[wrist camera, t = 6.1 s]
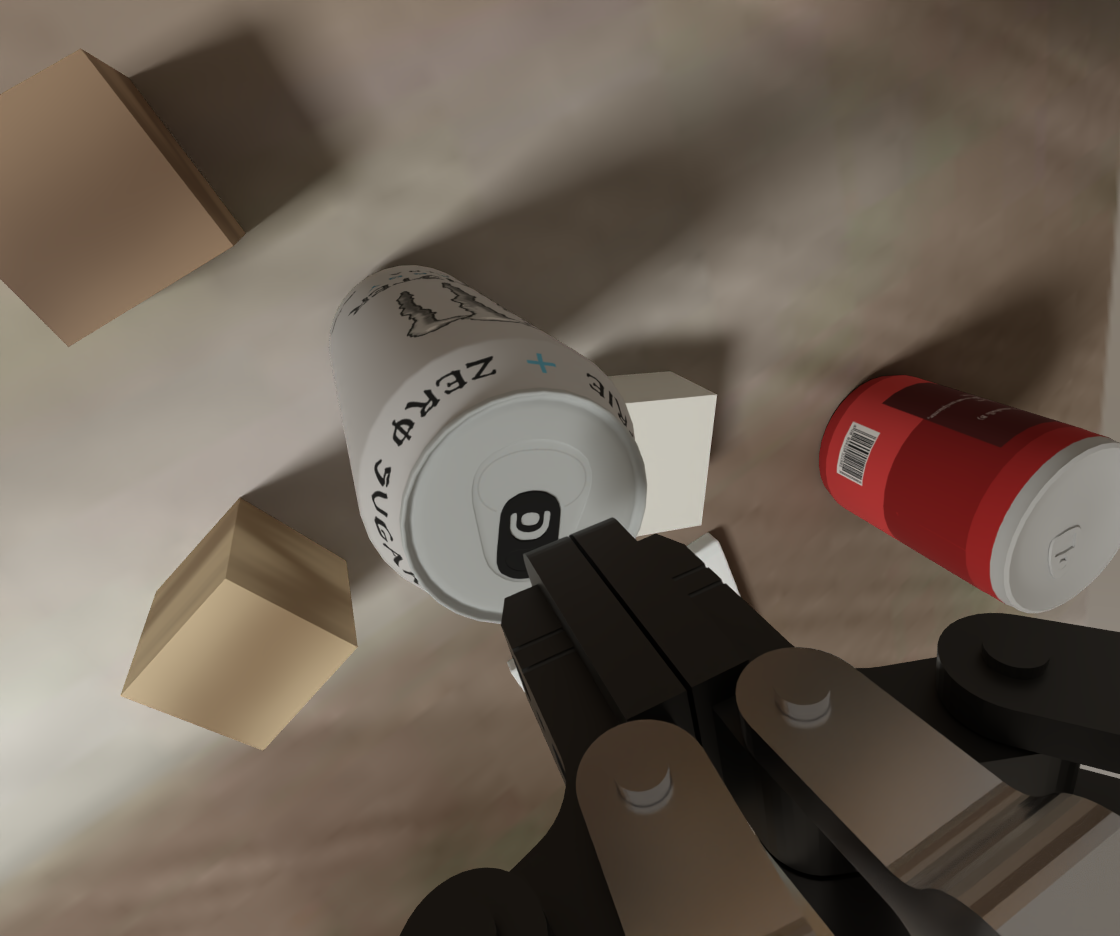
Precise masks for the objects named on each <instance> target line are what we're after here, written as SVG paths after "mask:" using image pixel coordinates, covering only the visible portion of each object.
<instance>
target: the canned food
mask: <svg viewBox="0 0 1120 936" xmlns="http://www.w3.org/2000/svg"><path fill="white" fill-rule="evenodd" d="M819 469H820V475H821V478H822V481H823V483H824V486H825V487H826V489H827V490H828V491H829V493H830V494H831V495H832V496H833V498H834V499H835V500H836V501H837V503H839V504H840V505H841V506H843V507H844V508H845V509H847V510H849V511H850V512H852V513H854V514H855V515H857V516H859V517H860V518H862V519H864V520H865V521H867V522H869V523H870V524H872V525H873V526H875V527H877V528H878V529H880V530H882V531H883V532H885V533H887V534H888V535H890V536H892V537H893V538H895V539H897V540H898V541H900V542H902V543H903V544H905V545H907V546H908V547H910V548H912V549H913V550H915V551H917V552H918V553H920V554H922V555H923V556H925V557H927V558H928V559H930V560H932V561H933V562H935V563H937V564H938V565H940V566H942V567H943V568H945V569H947V570H948V571H950V572H952V573H953V574H955V575H957V576H958V577H960V578H962V579H963V580H965V581H967V582H968V583H970V584H972V585H973V586H975V587H977V588H978V589H980V590H982V591H983V592H985V593H987V594H989V595H991V596H993V597H994V598H996V599H998V600H999V601H1001V602H1003V603H1004V604H1007V605H1010V606H1012V607H1014V608H1016V609H1017V610H1019V611H1023V612H1026V613H1041V612H1045V611H1049V610H1051V609H1054V608H1056V607H1058V606H1060V605H1062V604H1064V603H1065V602H1067V601H1068V600H1070V599H1072V598H1073V597H1075V596H1076V595H1077V594H1078V593H1080V592H1081V591H1082V590H1083V589H1084V588H1086V587H1087V586H1088V585H1089V584H1090V583H1091V582H1092V581H1093V580H1094V579H1095V578H1096V577H1097V576H1098V575H1099V574H1100V573H1101V572H1102V571H1103V569H1104V568H1105V567H1106V566H1107V564H1108V563H1109V562H1110V561H1111V559H1112V558H1113V556H1114V555H1115V554H1116V552H1117V550H1118V549H1119V547H1120V443H1119V442H1116V441H1114V440H1113V439H1111V438H1109V437H1105V436H1102V435H1099V434H1096V433H1093V432H1089V431H1087V430H1084V429H1082V428H1079V427H1075V426H1072V425H1069V424H1066V423H1062V422H1059V421H1056V420H1053V419H1049V418H1046V417H1043V416H1040V415H1036V414H1033V413H1030V412H1027V411H1023V410H1020V409H1017V408H1014V407H1011V406H1007V405H1004V404H1001V403H998V402H994V401H991V400H988V399H985V398H981V397H978V396H975V395H972V394H968V393H965V392H962V391H959V390H955V389H952V388H949V387H946V386H942V385H939V384H936V383H933V382H929V381H926V380H923V379H920V378H917V377H912V376H907V375H895V376H881V377H878V378H875V379H872V380H870V381H868V382H866V383H864V384H862V385H861V386H859V387H858V388H857V389H856V390H854V391H853V392H852V393H850V394H849V396H848V397H847V398H846V399H845V400H844V401H843V402H842V403H841V404H840V406H839V407H838V409H837V410H836V411H835V413H834V414H833V416H832V418H831V420H830V422H829V424H828V426H827V428H826V430H825V433H824V436H823V439H822V442H821V448H820V453H819Z"/></svg>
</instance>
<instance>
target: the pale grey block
mask: <svg viewBox="0 0 1120 936" xmlns="http://www.w3.org/2000/svg"><path fill="white" fill-rule="evenodd" d="M608 377H609V378H610V379H611V380H612V382H613V384H614V385H615V387H616V388H617V390H618V392H619V393H620V395H621V396H622V398H623V400H624V401H625V404H626V406H627V409H628V412H629V415H630V418H631V420H632V423H633V428H634V435H635V442H636V443H637V445H638V448H639V450H640V453H641V456H642V459H643V461H644V464H645V472H646V479H647V496H646V508H645V512H644V516H643V520H642V524H641V527H640V530H639V532H638V534H637V536H641V535H647V534H653V533H658V532H664V531H670V530H676V529H682V528H687V527H693V526H699V525H701V523H702V515H703V507H704V498H705V490H706V482H707V473H708V465H709V457H710V449H711V440H712V432H713V424H714V416H715V407H716V399H717V394H715V393H713V392H711V391H709V390H707V389H705V388H703V387H701V386H699V385H697V384H695V383H693V382H691V381H689V380H687V379H685V378H683V377H681V376H679V375H677V374H675V373H673V372H671V371H666V372H654V373H641V374H629V375H617V376H608Z"/></svg>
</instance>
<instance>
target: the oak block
mask: <svg viewBox="0 0 1120 936" xmlns="http://www.w3.org/2000/svg"><path fill="white" fill-rule="evenodd" d="M357 647H358V646H357V639H356V631H355V624H354V616H353V609H352V601H351V593H350V586H349V578H348V571H347V563H346V561H345V560H344V559H342V558H340V557H339V556H337V555H335V554H334V553H332V552H330V551H329V550H327V549H325V548H324V547H322V546H320V545H319V544H317V543H315V542H314V541H312V540H310V539H309V538H307V537H305V536H304V535H302V534H300V533H299V532H297V531H295V530H294V529H292V528H290V527H288V526H287V525H285V524H283V523H282V522H280V521H278V520H277V519H275V518H273V517H272V516H270V515H268V514H267V513H265V512H263V511H262V510H260V509H258V508H257V507H255V506H253V505H252V504H250V503H248V502H247V501H245V500H243V499H242V498H239V499H238V500H237V501H236V502H235V504H234V505H233V506H232V507H231V508H230V509H229V510H228V511H227V513H226V514H225V515H224V516H223V517H222V518H221V519H220V520H219V522H218V523H217V524H216V525H215V526H214V527H213V528H212V529H211V531H210V532H209V533H208V534H207V535H206V536H205V537H204V538H203V540H202V541H201V542H200V543H199V544H198V545H197V546H196V547H195V549H194V550H193V551H192V552H191V553H190V554H189V555H188V556H187V558H186V559H185V560H184V561H183V562H182V563H181V564H180V566H179V567H178V568H177V569H176V570H175V571H174V572H173V573H172V575H171V576H170V577H169V578H168V579H167V580H166V581H165V582H164V584H163V585H162V586H161V587H160V588H159V589H158V590H157V591H156V594H155V597H154V600H153V602H152V605H151V608H150V611H149V614H148V617H147V620H146V623H145V626H144V629H143V632H142V634H141V637H140V640H139V643H138V646H137V649H136V652H135V655H134V658H133V661H132V664H131V667H130V669H129V672H128V675H127V678H126V681H125V684H124V687H123V690H122V693H121V696H122V697H125V698H127V699H130V700H132V701H135V702H138V703H140V704H143V705H146V706H148V707H151V708H153V709H156V710H159V711H161V712H164V713H166V714H169V715H172V716H174V717H177V718H180V719H182V720H185V721H187V722H190V723H193V724H195V725H198V726H200V727H203V728H206V729H208V730H211V731H213V732H216V733H219V734H221V735H224V736H227V737H229V738H232V739H234V740H237V741H240V742H242V743H245V744H247V745H250V746H253V747H255V748H258V749H260V750H264V749H265V748H266V747H267V746H268V745H269V744H270V742H271V741H272V740H273V739H274V738H275V737H276V736H277V735H278V734H279V733H280V732H281V730H282V729H283V728H284V727H285V726H286V725H287V724H288V723H289V722H290V721H291V719H292V718H293V717H294V716H295V715H296V714H297V713H298V712H299V711H300V710H301V709H302V707H303V706H304V705H305V704H306V703H307V702H308V701H309V700H310V699H311V698H312V696H313V695H314V694H315V693H316V692H317V691H318V690H319V689H320V688H321V687H322V686H323V684H324V683H325V682H326V681H327V680H328V679H329V678H330V677H331V676H332V675H333V674H334V672H335V671H336V670H337V669H338V668H339V667H340V666H341V665H342V664H343V663H344V661H345V660H346V659H347V658H348V657H349V656H350V655H351V654H352V653H353V652H354V651H355V649H356V648H357Z"/></svg>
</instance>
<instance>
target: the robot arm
mask: <svg viewBox="0 0 1120 936" xmlns="http://www.w3.org/2000/svg"><path fill="white" fill-rule="evenodd" d="M523 557H524V562H525V565H526V569H527V572H528V575H529V578H530V581H531V585H532V587H530V588H527V589H525V590H523V591H520V592H518V593H515V594H513V595H511V596H508V597H506V598H505V599H504V606H503V613H502V620H501V626H502V629H503V632H504V635H505V638H506V640H507V643H508V646H509V649H510V652H511V654H512V657H513V660H514V663H515V666H516V668H517V671H518V674H519V677H520V680H521V682H522V685H523V688H524V691H525V694H526V696H527V699H528V701H529V703H530V706H531V708H532V710H533V712H534V715H535V717H536V719H537V721H538V724H539V725H540V728H541V730H542V733H543V735H544V737H545V739H546V742H547V744H548V746H549V748H550V751H551V753H552V755H553V758H554V760H555V762H556V764H557V767H558V769H559V771H560V773H561V776H562V778H563V780H564V783H565V785H566V789H565V794H564V800H563V803H562V806H561V809H560V812H559V814H558V816H557V818H556V820H555V822H554V823H553V825H552V826H551V828H550V829H549V831H548V832H547V834H546V835H545V836H544V837H543V838H542V839H541V841H540V842H539V843H538V844H537V845H536V846H535V847H534V848H533V849H532V850H531V851H530V852H529V853H528V854H527V855H526V856H525V857H524V858H523V859H522V860H521V861H520V862H519V863H518V864H517V865H516V866H515V867H514V868H513V869H512V870H511V871H510V872H508V871H504V870H501V869H496V868H478V869H472V870H469V871H465V872H462V873H460V874H457V875H455V876H453V877H451V878H449V879H448V880H446V881H444V882H443V883H441V884H440V885H438V886H437V887H436V888H435V889H434V890H433V891H431V892H430V893H429V894H428V895H427V896H426V897H425V898H424V899H423V900H422V902H421V903H420V904H419V905H418V906H417V907H416V909H415V910H414V912H413V913H412V915H411V916H410V918H409V919H408V921H407V923H406V925H405V927H404V928H403V930H402V932H401V934H400V936H1120V779H1118V778H1115V777H1111V776H1107V775H1103V774H1099V773H1095V772H1092V771H1088V770H1084V769H1080V764H1083V765H1087V766H1090V767H1094V768H1098V769H1102V770H1106V771H1110V772H1114V773H1118V774H1120V632H1115V631H1108V630H1103V629H1097V628H1091V627H1085V626H1079V625H1073V624H1067V623H1061V622H1055V621H1049V620H1043V619H1037V618H1031V617H1025V616H1019V615H1012V614H1004V613H985V614H976V615H971V616H967V617H964V618H962V619H959V620H957V621H955V622H954V623H952V624H950V625H949V626H948V627H947V628H946V629H945V630H944V631H943V633H942V634H941V636H940V638H939V641H938V647H937V657H935V658H929V659H923V660H917V661H911V662H905V663H899V664H894V665H888V666H882V667H874V668H854V667H853V666H851V665H850V664H848V663H847V662H845V661H844V660H842V659H841V658H839V657H837V656H835V655H832V654H830V653H827V652H824V651H821V650H816V649H812V648H803V647H794V646H793V645H792V644H790V643H789V642H788V641H787V640H786V639H785V638H784V637H783V636H782V635H781V634H780V633H779V632H778V631H776V630H775V629H774V628H773V627H772V626H771V625H770V624H769V623H768V622H767V621H766V620H765V619H764V618H763V617H761V616H760V615H759V614H758V613H757V612H756V611H755V610H754V609H753V608H752V607H751V606H750V605H749V604H748V603H747V602H745V601H744V600H743V599H742V598H741V597H740V596H739V595H738V594H737V593H736V592H735V591H734V590H733V589H732V588H731V587H729V586H728V585H727V584H726V583H725V584H724V583H723V582H722V579H721V578H720V577H719V576H718V575H717V574H716V573H714V572H713V571H712V570H711V569H710V568H709V567H708V568H707V567H706V566H705V563H704V562H703V561H702V560H701V559H700V558H698V557H697V556H696V555H695V554H694V553H693V552H692V551H691V550H690V549H689V548H688V547H687V546H686V545H684V544H682V543H679V542H677V541H674V540H671V539H669V538H666V537H663V536H661V535H658V534H654V535H651V536H649V537H647V538H644V539H642V540H640V541H637V540H636V539H635V538H634V537H633V536H632V535H631V534H630V533H629V532H628V531H627V530H626V529H625V528H624V527H623V526H622V525H621V524H620V523H619V521H618V520H616V519H615V518H613V517H611V518H609V519H606V520H604V521H602V522H599V523H597V524H594V525H592V526H589V527H587V528H585V529H582V530H580V531H577V532H575V533H572V534H570V535H569V537H568V536H566V537H563V538H561V539H558V540H556V541H554V542H551V543H549V544H546V545H544V546H541V547H539V548H537V549H534V550H532V551H529V552H527V553H524V554H523ZM746 820H747V821H746ZM748 823H749V824H748ZM749 825H750V826H751V827H752V829H753V830H754V832H755V834H754V832H753V830H752V829H751V827H750V826H749Z"/></svg>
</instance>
